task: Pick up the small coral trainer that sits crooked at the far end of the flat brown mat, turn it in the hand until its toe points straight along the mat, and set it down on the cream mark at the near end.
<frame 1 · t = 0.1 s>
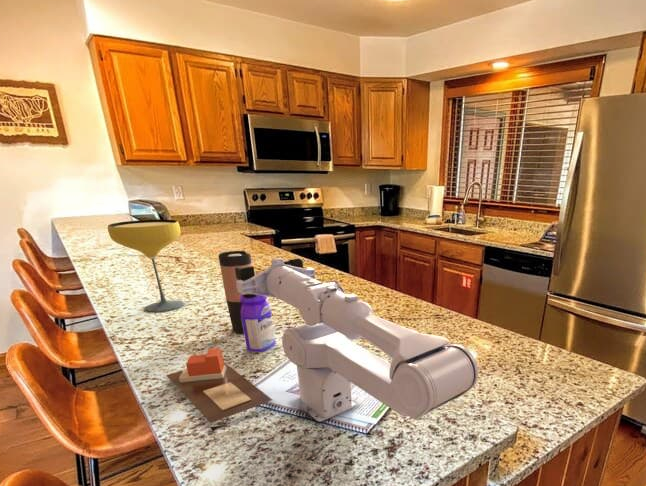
hand: (256, 269, 82), 22 cm above the countertop, tool horizontal, fingers open, 7 cm apart
cocktail glass: (165, 307, 133), on the countertop
travel mug: (247, 329, 114), on the countertop
flat brown mat: (217, 393, 82), on the countertop
bottle: (262, 352, 100), on the countertop
trainer: (203, 375, 86), point 1 cm above the countertop, touching flat brown mat
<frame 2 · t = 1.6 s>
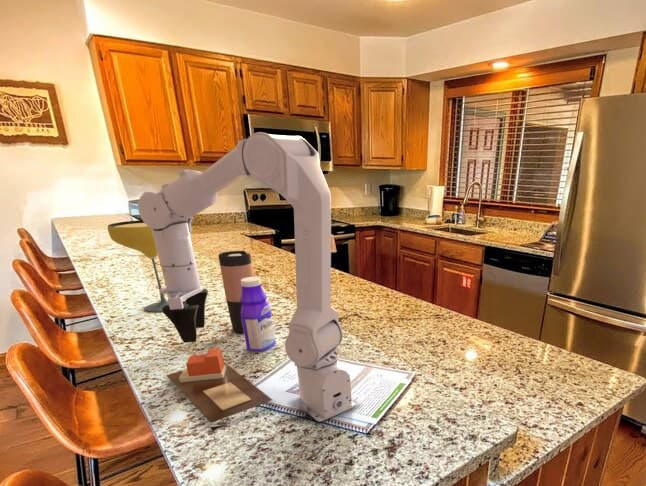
hand: (194, 334, 82), 10 cm above the countertop, tool pointing down, fingers open, 7 cm apart
nothing on the countertop moved.
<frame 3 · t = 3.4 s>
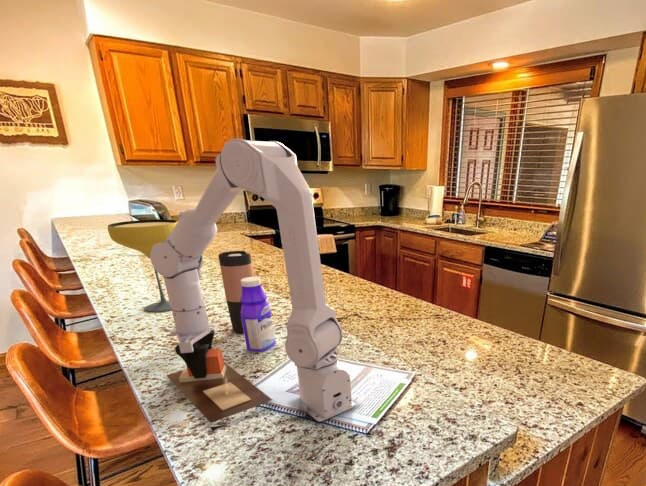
hand: (203, 371, 85), 2 cm above the countertop, tool pointing down, fingers closed on trainer, 4 cm apart
trainer: (203, 375, 86), point 1 cm above the countertop, touching gripper, flat brown mat
everything else where it was.
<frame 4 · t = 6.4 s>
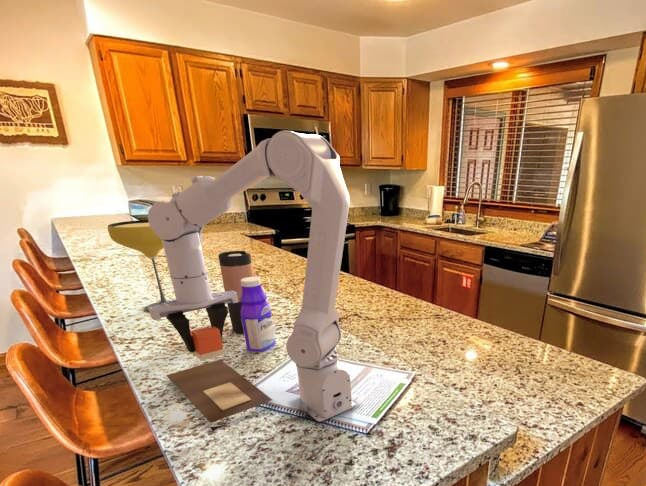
hand: (205, 347, 79), 9 cm above the countertop, tool pointing down, fingers closed on trainer, 4 cm apart
trainer: (205, 350, 80), point 8 cm above the countertop, touching gripper
everything else where it was.
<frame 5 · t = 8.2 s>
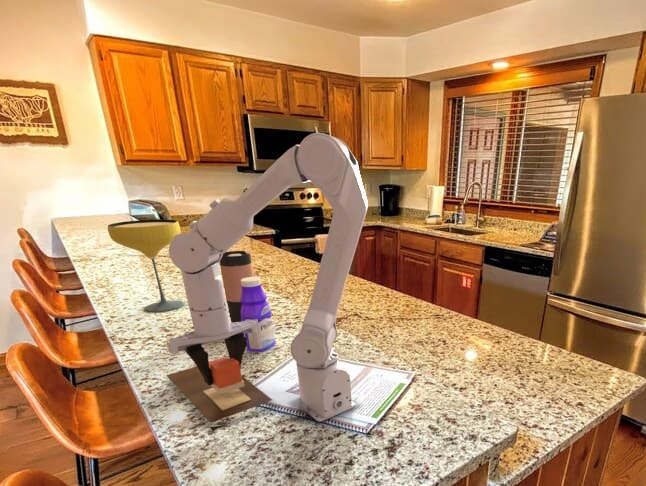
hand: (223, 378, 77), 5 cm above the countertop, tool pointing down, fingers closed on trainer, 4 cm apart
trainer: (223, 382, 77), point 4 cm above the countertop, touching gripper
everything else where it was.
when the fingers open (2 cm above the countertop, at t = 9.5 s): trainer stays where it is, resting on flat brown mat.
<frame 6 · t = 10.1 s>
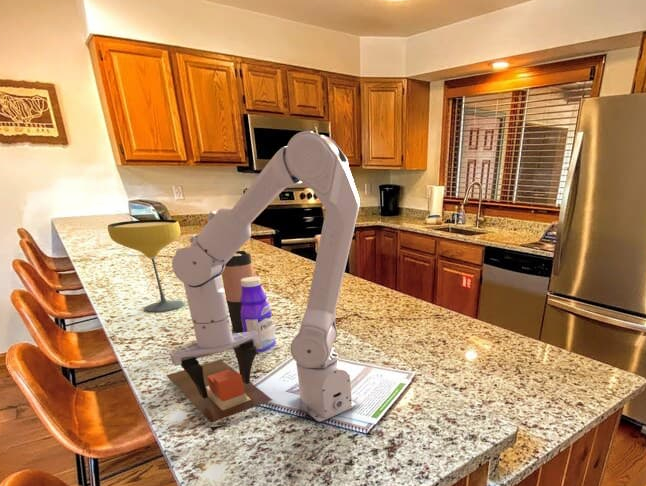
hand: (225, 388, 77), 3 cm above the countertop, tool pointing down, fingers open, 7 cm apart
trainer: (226, 395, 78), point 2 cm above the countertop, touching flat brown mat
everything else where it was.
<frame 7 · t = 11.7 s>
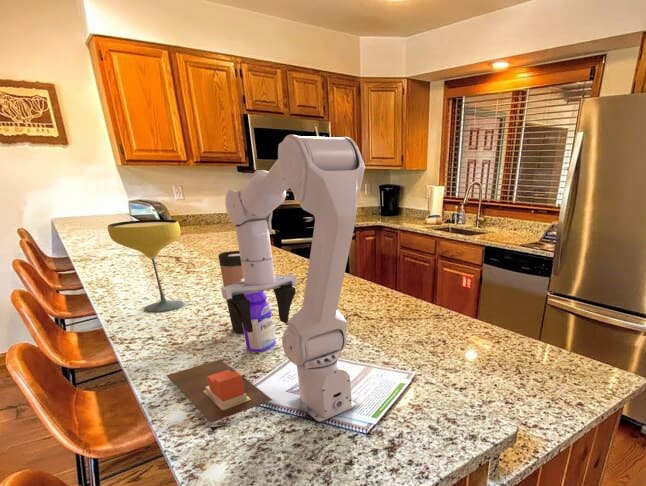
hand: (267, 326, 86), 10 cm above the countertop, tool pointing down, fingers open, 7 cm apart
nothing on the countertop moved.
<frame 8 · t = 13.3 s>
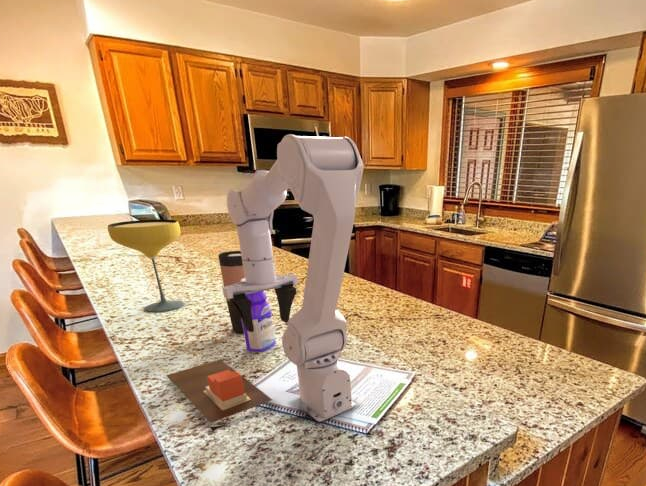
hand: (268, 325, 86), 10 cm above the countertop, tool pointing down, fingers open, 7 cm apart
nothing on the countertop moved.
at the end: trainer 0.1 cm from the target spot, point 1.7 cm above the countertop; trainer tilted 0°; the gripper is holding nothing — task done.
